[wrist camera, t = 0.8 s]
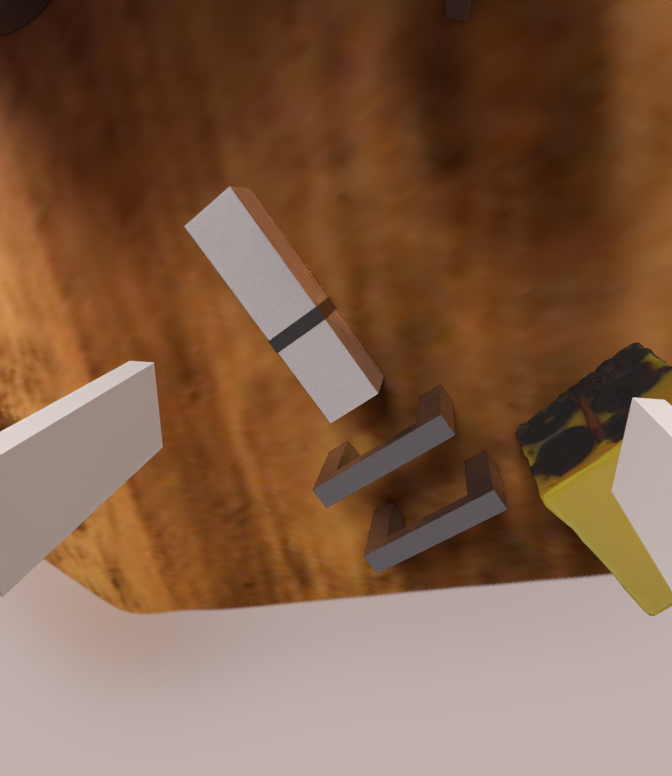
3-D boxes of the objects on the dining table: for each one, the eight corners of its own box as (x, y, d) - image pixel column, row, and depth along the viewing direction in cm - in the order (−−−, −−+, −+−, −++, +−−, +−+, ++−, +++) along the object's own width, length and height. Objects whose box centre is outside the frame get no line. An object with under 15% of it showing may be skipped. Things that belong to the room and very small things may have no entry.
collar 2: (373, 510, 42) (363, 556, 37) (485, 449, 39) (493, 489, 33) (385, 525, 42) (377, 573, 37) (497, 466, 39) (507, 509, 34)
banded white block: (209, 225, 38) (183, 226, 34) (251, 188, 36) (230, 185, 32) (340, 403, 40) (329, 424, 36) (384, 375, 39) (378, 393, 35)
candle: (599, 525, 39) (649, 623, 30) (508, 430, 38) (531, 501, 29) (730, 443, 36) (833, 525, 26) (634, 335, 35) (705, 382, 25)
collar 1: (329, 451, 41) (312, 489, 36) (440, 384, 38) (440, 414, 32) (341, 467, 42) (326, 508, 36) (452, 402, 38) (455, 435, 33)
